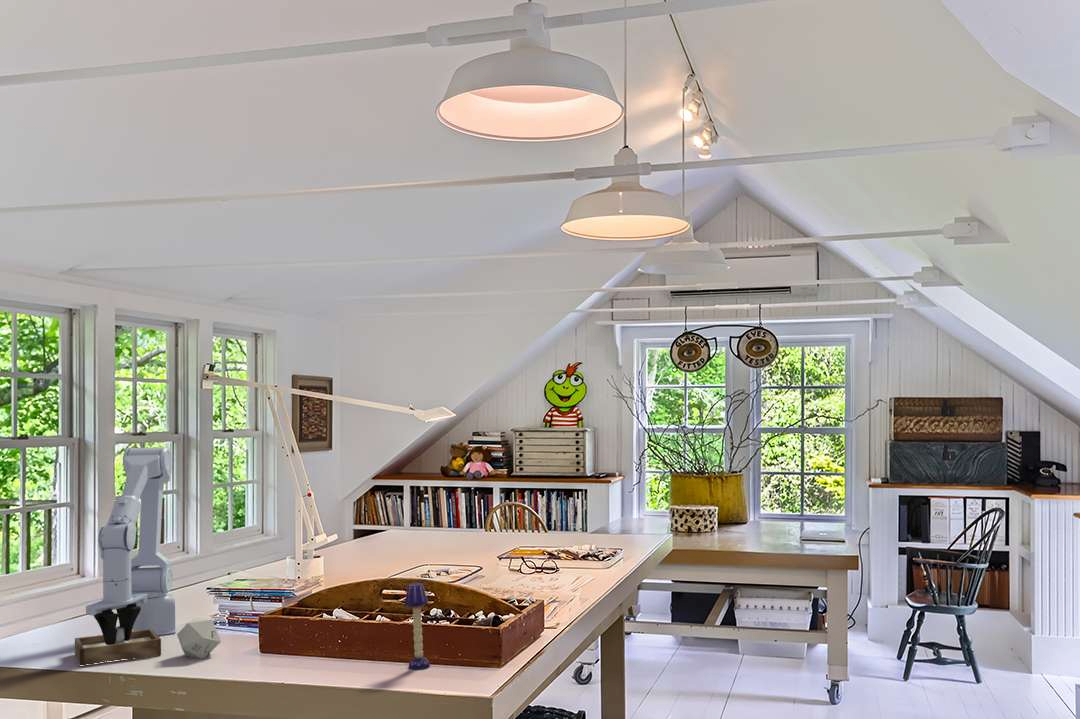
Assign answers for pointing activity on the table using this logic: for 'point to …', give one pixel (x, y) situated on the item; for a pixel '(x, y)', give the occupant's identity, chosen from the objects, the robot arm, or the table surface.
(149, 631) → the peg box
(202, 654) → the die
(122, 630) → the peg
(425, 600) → the toy lamp
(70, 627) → the table surface
